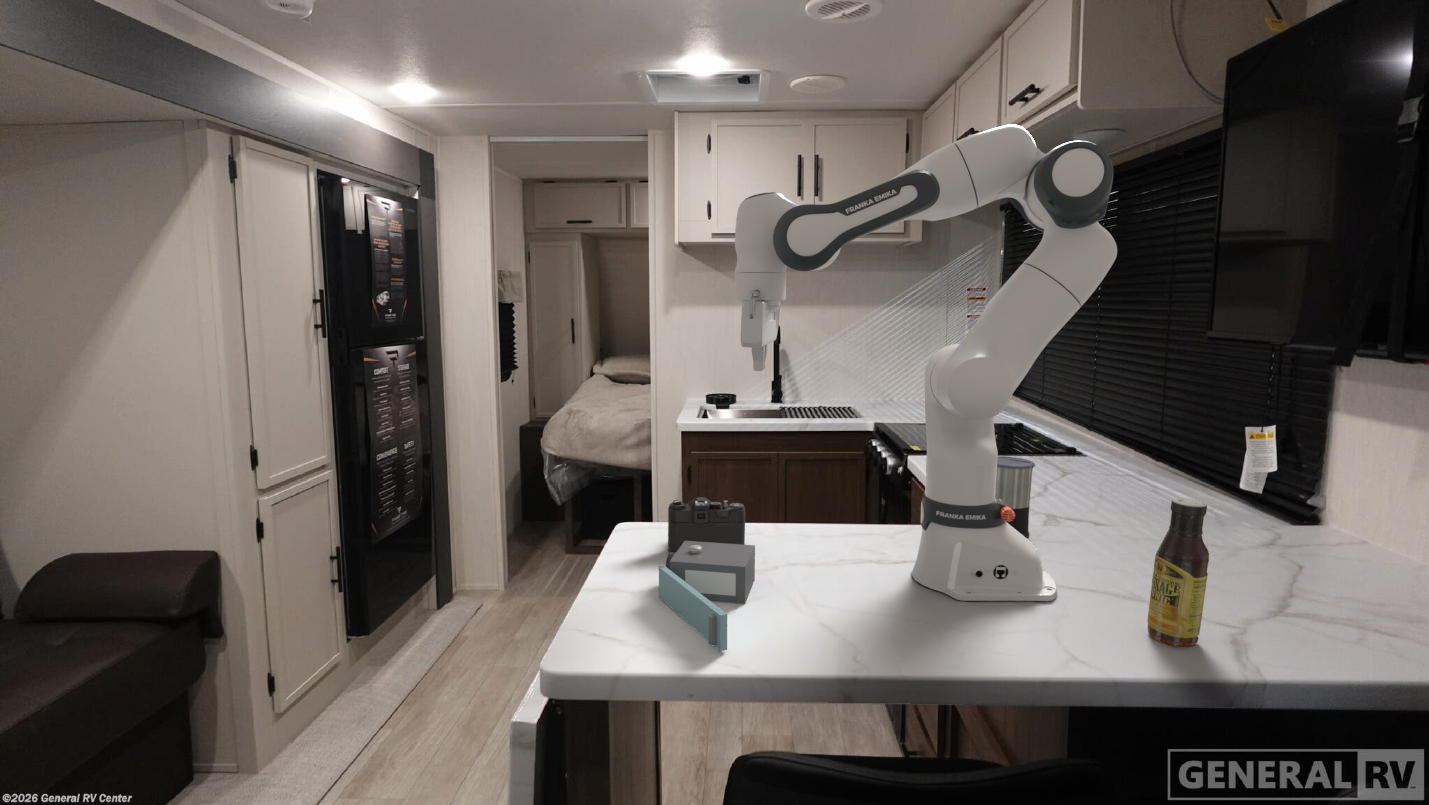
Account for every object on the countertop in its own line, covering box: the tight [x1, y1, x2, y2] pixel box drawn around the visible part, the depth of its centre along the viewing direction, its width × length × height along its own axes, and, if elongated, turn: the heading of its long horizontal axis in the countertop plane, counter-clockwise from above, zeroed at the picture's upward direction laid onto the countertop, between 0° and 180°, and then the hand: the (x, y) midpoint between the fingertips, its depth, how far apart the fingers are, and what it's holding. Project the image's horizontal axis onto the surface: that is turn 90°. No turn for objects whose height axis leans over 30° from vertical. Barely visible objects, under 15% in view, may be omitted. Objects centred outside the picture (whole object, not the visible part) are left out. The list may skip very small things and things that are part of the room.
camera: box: [667, 496, 746, 554], centre depth 141 cm, size 14×11×10 cm
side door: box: [658, 564, 728, 652], centre depth 108 cm, size 20×2×5 cm, turn 28°
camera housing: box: [665, 541, 756, 605], centre depth 121 cm, size 13×10×7 cm
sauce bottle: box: [1146, 497, 1210, 648], centre depth 102 cm, size 7×6×20 cm
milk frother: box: [995, 455, 1036, 538], centre depth 146 cm, size 14×16×15 cm
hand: (759, 370), depth 131 cm, fingers closed
